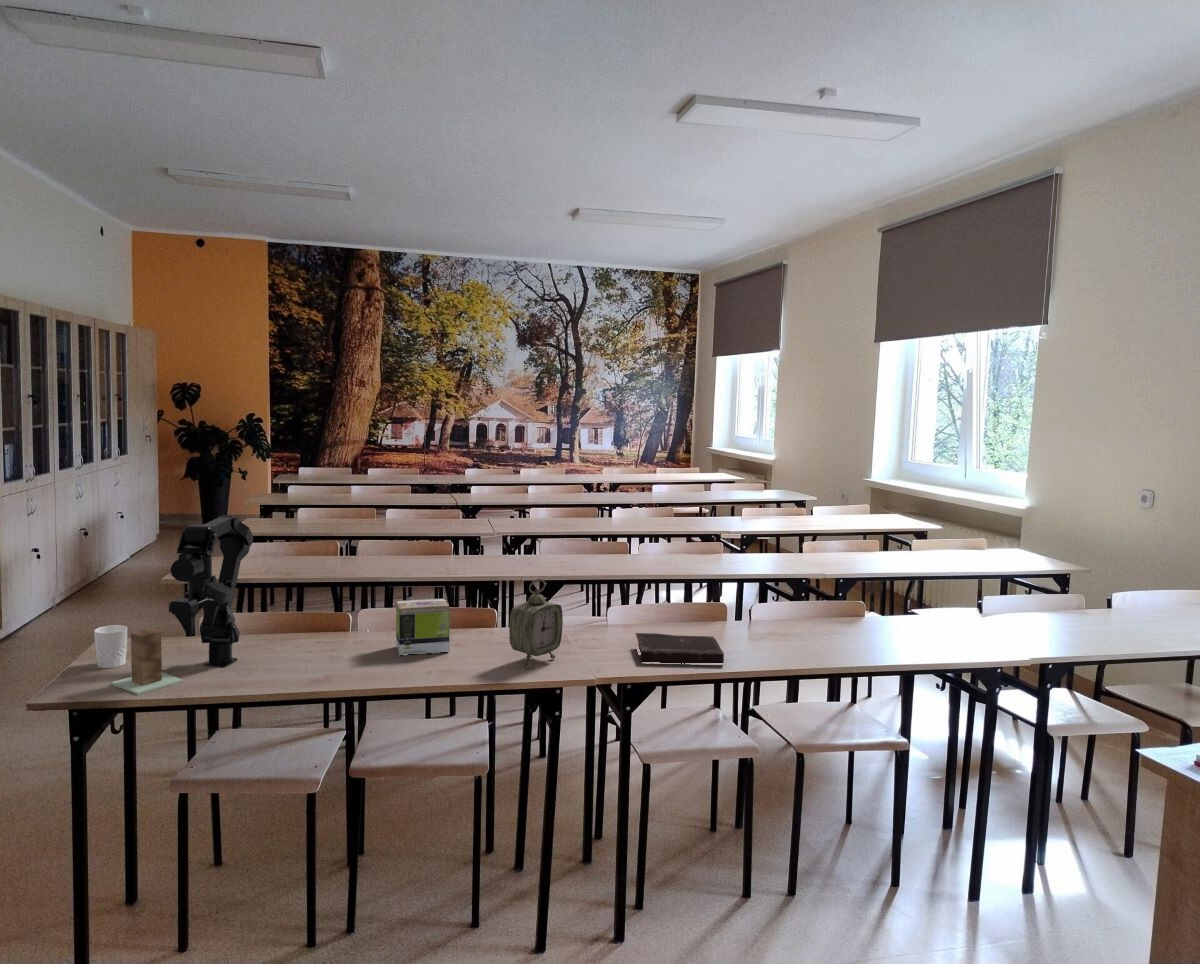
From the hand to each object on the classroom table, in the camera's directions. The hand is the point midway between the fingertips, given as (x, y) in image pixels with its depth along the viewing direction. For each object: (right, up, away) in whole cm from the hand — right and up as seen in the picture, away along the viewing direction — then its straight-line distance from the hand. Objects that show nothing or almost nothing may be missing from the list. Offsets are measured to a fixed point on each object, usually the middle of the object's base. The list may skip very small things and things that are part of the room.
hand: (200, 631), depth 222 cm
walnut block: (-12, -12, -4) cm, 18 cm away
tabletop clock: (+86, -14, +27) cm, 91 cm away
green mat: (-12, -13, -3) cm, 18 cm away
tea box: (+51, -12, +34) cm, 63 cm away
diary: (+129, -15, +39) cm, 136 cm away
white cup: (-29, -11, +9) cm, 32 cm away
